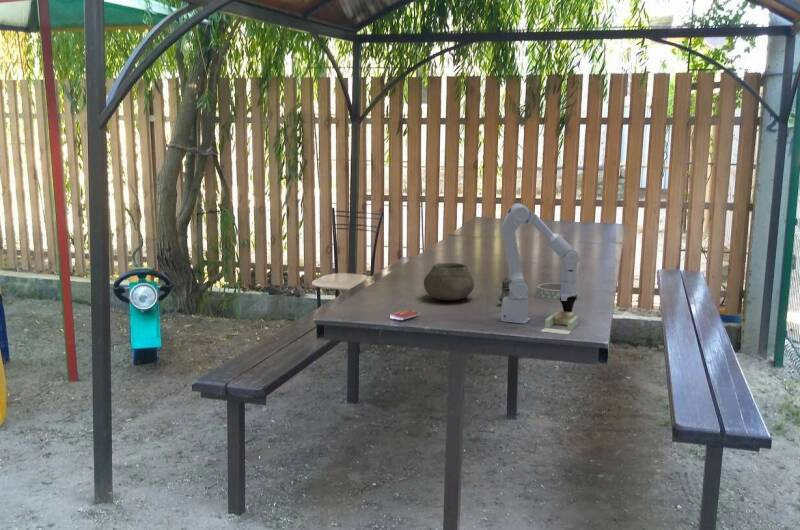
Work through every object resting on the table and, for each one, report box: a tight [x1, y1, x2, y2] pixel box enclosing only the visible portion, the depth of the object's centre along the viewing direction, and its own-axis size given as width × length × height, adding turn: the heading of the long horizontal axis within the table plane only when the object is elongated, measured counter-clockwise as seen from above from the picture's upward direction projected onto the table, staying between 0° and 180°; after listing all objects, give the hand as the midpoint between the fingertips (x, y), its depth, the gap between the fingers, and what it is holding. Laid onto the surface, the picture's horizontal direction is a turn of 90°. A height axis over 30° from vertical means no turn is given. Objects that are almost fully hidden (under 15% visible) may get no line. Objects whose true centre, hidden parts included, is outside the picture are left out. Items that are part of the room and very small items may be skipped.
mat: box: [540, 327, 572, 335], centre depth 278 cm, size 10×5×1 cm, turn 64°
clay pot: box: [423, 262, 475, 302], centre depth 327 cm, size 22×21×15 cm
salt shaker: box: [498, 276, 511, 307], centre depth 317 cm, size 6×6×12 cm
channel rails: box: [544, 312, 580, 332], centre depth 285 cm, size 10×11×3 cm
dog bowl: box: [535, 282, 578, 304], centre depth 331 cm, size 17×18×5 cm
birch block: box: [553, 310, 575, 326], centre depth 288 cm, size 6×4×4 cm
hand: (567, 315), depth 293 cm, fingers closed
